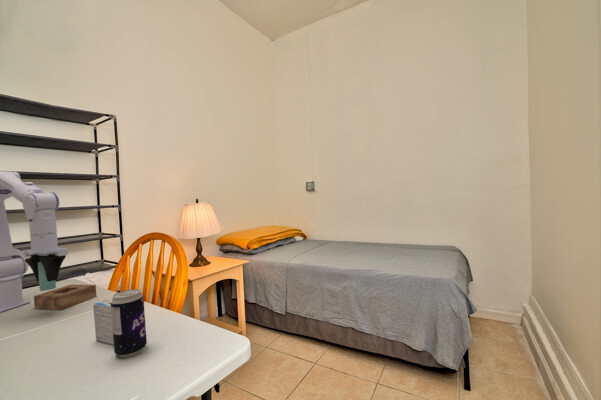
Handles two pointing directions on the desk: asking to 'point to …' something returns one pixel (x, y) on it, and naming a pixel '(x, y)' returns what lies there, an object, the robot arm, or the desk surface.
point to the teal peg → (44, 279)
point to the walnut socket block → (64, 297)
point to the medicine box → (103, 321)
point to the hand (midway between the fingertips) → (47, 280)
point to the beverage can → (128, 322)
